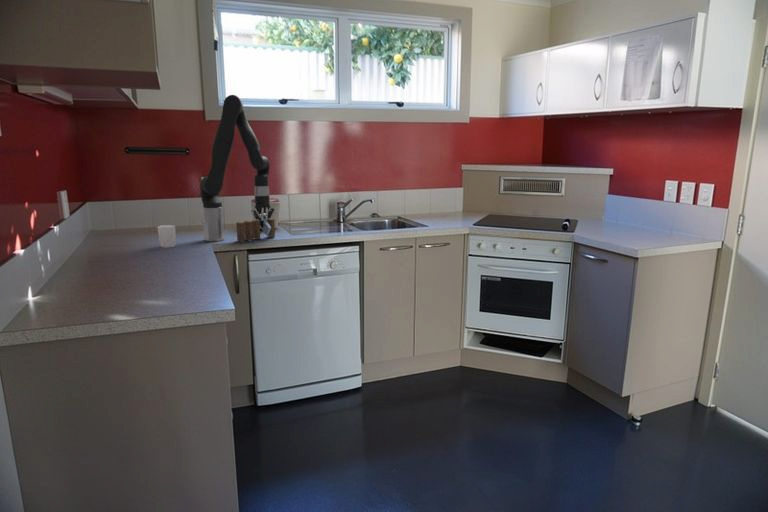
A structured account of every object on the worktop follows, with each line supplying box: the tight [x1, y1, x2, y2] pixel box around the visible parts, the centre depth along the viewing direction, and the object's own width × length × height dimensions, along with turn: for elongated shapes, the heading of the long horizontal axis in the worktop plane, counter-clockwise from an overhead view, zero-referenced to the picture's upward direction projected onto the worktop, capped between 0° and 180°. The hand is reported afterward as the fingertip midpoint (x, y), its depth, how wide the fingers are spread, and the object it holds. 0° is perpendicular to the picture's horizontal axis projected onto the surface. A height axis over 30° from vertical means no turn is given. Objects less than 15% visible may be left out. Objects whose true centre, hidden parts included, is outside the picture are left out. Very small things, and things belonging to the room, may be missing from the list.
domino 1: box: [236, 221, 246, 243], centre depth 264 cm, size 2×5×10 cm, turn 45°
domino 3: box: [251, 220, 261, 240], centre depth 271 cm, size 2×5×10 cm, turn 45°
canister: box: [249, 197, 281, 231], centre depth 304 cm, size 18×18×21 cm
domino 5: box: [266, 218, 276, 238], centre depth 277 cm, size 2×5×10 cm, turn 45°
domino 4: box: [258, 217, 271, 236], centre depth 273 cm, size 2×5×10 cm
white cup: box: [157, 224, 176, 249], centre depth 250 cm, size 8×8×10 cm
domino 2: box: [243, 220, 254, 241], centre depth 268 cm, size 2×5×10 cm, turn 45°
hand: (263, 227), depth 274 cm, fingers closed on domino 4, 1 cm apart
